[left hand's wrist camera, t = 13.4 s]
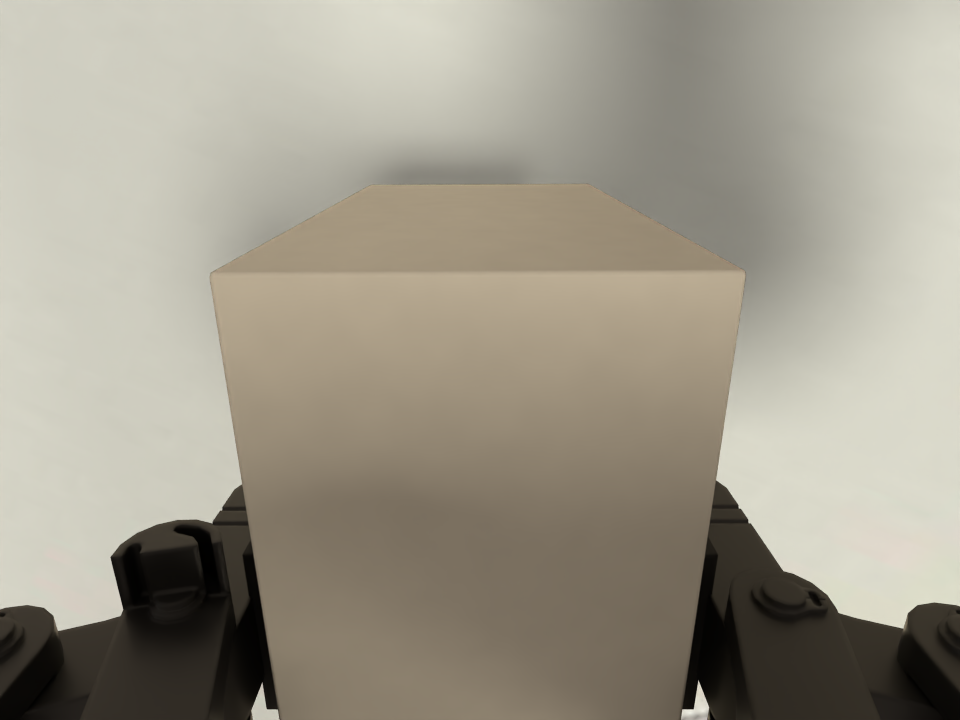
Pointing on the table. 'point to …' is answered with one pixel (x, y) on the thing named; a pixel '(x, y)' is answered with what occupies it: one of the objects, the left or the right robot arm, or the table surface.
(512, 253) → the post
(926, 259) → the table surface
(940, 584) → the table surface
